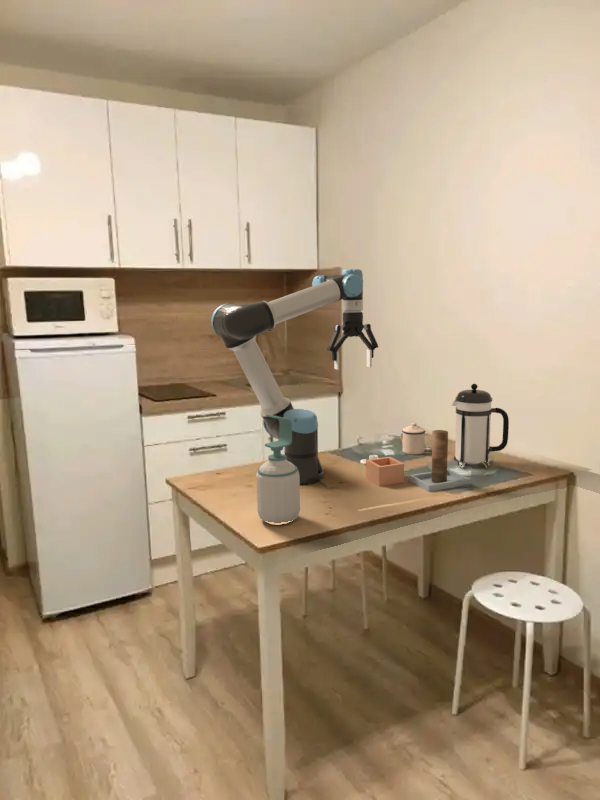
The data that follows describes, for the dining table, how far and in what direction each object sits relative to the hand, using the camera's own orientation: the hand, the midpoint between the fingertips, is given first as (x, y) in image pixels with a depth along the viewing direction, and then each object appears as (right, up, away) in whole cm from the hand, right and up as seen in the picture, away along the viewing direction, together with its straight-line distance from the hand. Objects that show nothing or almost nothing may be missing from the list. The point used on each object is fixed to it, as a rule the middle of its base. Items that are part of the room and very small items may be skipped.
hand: (353, 368), depth 231 cm
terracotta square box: (+9, -40, -24) cm, 47 cm away
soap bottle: (-26, -47, -55) cm, 77 cm away
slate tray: (+26, -40, -28) cm, 56 cm away
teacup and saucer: (+7, -36, -2) cm, 37 cm away
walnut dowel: (+26, -39, -28) cm, 55 cm away
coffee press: (+44, -36, -6) cm, 57 cm away
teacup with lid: (+24, -33, +12) cm, 42 cm away
